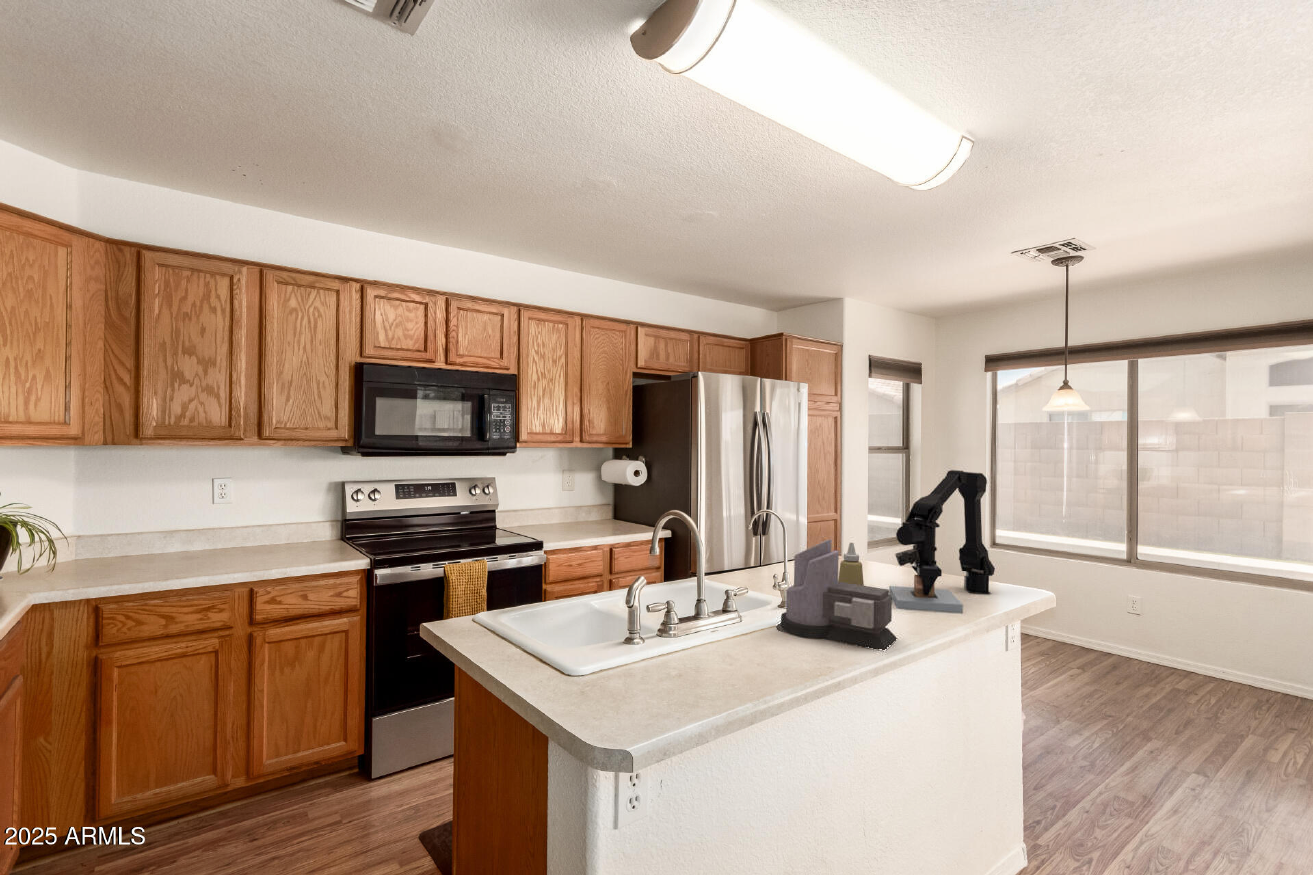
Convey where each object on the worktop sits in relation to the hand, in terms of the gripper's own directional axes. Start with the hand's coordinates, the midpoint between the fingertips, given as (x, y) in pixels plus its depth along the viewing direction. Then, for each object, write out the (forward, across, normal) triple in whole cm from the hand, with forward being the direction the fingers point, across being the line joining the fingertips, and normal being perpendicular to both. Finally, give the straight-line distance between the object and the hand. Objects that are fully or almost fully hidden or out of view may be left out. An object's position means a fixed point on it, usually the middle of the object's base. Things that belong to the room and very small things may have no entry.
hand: (924, 592), depth 197 cm
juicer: (+3, +38, -29) cm, 48 cm away
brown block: (+1, 0, 0) cm, 1 cm away
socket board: (+3, 0, 0) cm, 3 cm away
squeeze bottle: (+3, +4, -22) cm, 23 cm away
